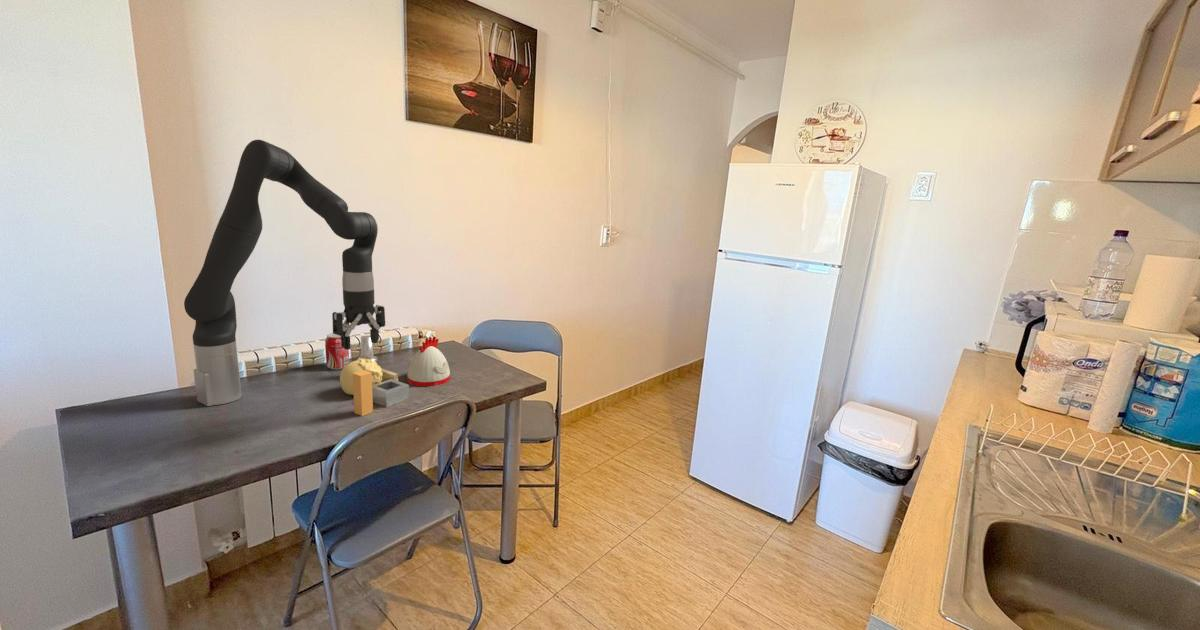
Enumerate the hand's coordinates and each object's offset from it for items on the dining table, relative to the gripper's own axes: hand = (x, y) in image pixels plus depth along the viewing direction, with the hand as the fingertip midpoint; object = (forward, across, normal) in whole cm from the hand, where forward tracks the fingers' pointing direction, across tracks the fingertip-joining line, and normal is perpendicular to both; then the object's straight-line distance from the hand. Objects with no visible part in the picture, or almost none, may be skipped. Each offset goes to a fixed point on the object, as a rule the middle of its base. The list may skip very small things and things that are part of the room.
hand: (361, 345), depth 128 cm
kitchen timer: (+20, +29, +6) cm, 36 cm away
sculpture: (+20, +9, +13) cm, 26 cm away
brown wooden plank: (+20, +16, +13) cm, 29 cm away
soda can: (+20, +17, +38) cm, 46 cm away
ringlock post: (+20, +18, +23) cm, 35 cm away
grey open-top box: (+20, +10, +2) cm, 22 cm away
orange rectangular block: (+20, 0, 0) cm, 20 cm away
